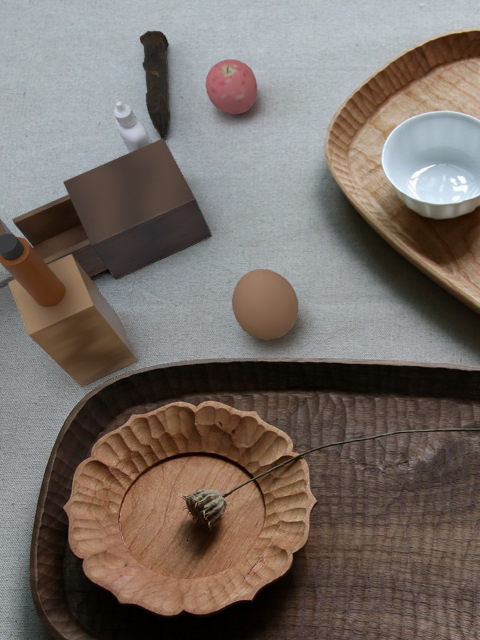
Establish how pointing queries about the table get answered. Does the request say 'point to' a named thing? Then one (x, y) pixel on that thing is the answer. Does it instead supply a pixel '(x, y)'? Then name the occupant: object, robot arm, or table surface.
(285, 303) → the egg
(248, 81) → the apple
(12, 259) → the amber bottle
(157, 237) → the cabinet
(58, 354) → the block
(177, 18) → the table surface
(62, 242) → the drawer
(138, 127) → the eye dropper bottle
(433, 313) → the table surface
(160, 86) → the hand tool
